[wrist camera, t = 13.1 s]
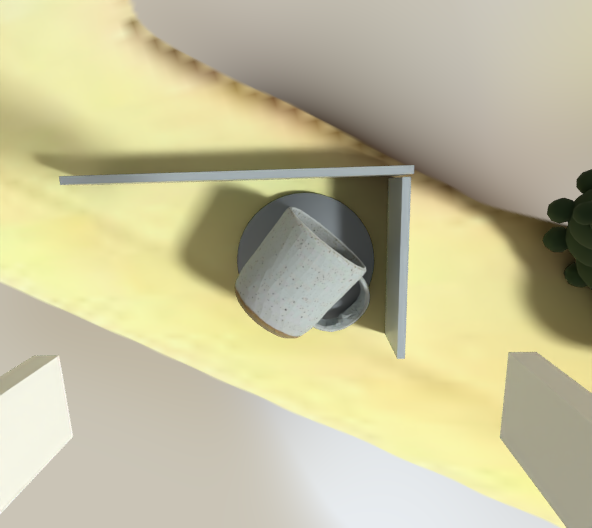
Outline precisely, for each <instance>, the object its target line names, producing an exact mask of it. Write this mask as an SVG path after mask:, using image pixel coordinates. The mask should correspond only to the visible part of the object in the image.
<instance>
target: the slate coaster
mask: <svg viewBox="0 0 592 528" xmlns="http://www.w3.org/2000/svg"><path fill="white" fill-rule="evenodd" d="M289 207H295V208H297V209H300V210H302V211H303V212H305V213H306V214H308V215H309V216H310V217H312V218H313V219H315V220H316V221H317V222H319V223H320V224H321V225H323V226H324V227H325V228H326V229H328V230H329V231H330V232H331V233H333V234H334V235H335V236H336V237H337V238H338V239H339V240H341V241H342V242H343V243H344V244H345V245H346V246H347V247H348V248H349V249H350V250H351V251H352V252H353V253H354V254H355V255H356V256H357V257H358V258H359V259H360V260H361V262H362V263H363V264H364V265H365V267H366V272H365V273H364V275H363V276H362V277H363V278H364V280H365V281H366V283H367V285H368V287H369V284H370V281H371V278H372V274H373V268H374V252H373V246H372V242H371V239H370V236H369V234H368V232H367V230H366V228H365V226H364V225H363V223H362V222H361V220H360V219H359V218H358V217H357V215H356V214H355V213H354V212H353V211H352V210H350V209H349V208H348V207H347V206H345V205H344V204H342V203H341V202H339V201H337V200H335V199H333V198H331V197H327V196H324V195H321V194H315V193H296V194H291V195H287V196H284V197H281V198H278V199H276V200H274V201H272V202H271V203H269V204H267V205H266V206H265V207H263V208H262V209H261V210H260V211H259V212H257V213H256V214H255V215H254V217H253V218H252V219H251V220H250V222H249V223H248V225H247V227H246V228H245V230H244V232H243V235H242V237H241V240H240V244H239V248H238V256H237V264H238V272H239V274H240V272H241V270H242V269H243V267H244V266H245V264H246V263H247V262H248V260H249V259H250V258H251V257H252V255H253V254H254V253H255V251H256V250H257V249H258V247H259V246H260V245H261V243H262V242H263V240H264V239H265V238H266V236H267V235H268V234H269V232H270V231H271V230H272V228H273V227H274V226H275V224H276V223H277V222H278V220H279V219H280V218H281V216H282V215H283V213H284V212H285V211H286V210H287V208H289ZM360 290H361V288H360V283H359V281H357V282H356V283H355V284H354V285H353V286H352V287H351V288H350V289H349V290H348V291H347V292H346V293H345V294H344V295H343V296H342V297H341V298H340V299H339V300H338V301H337V302H336V303H335V304H334V305H333V306H332V307H331V308H330V309H329V310H328V311H327V312H326V314H325V315H324V316H323V317H322V319H332V318H336V317H338V316H339V315H340V314H341V313H343V312H344V311H345V310H346V309H348V308H349V307H350V306H351V305H352V304H353V303H354V302H355V301H356V300H357V298H358V296H359V295H360Z"/></svg>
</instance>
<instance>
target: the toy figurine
mask: <svg viewBox="0 0 592 528" xmlns="http://www.w3.org/2000/svg"><path fill="white" fill-rule="evenodd" d="M577 188H578V189H579V190H580V192H581V193H583V194H582V195H581V196H579V197H578V198H577V199H576V200H575V201H573V200H570V199H566V198H561V199H558V200H555V201H553V202H552V203H551V204H549V206H548V211H547V215H548V216H549V218H550V219H551V221H554V222H557V223H563V222H567V221H568V226H567V229H566V228H564V227H563V226H561V227H552V228H551V229H550V230H549V231H548V232H547V233H546V234H545V235H544V238H543V243H544V245H545V247H547V248H548V249H550V250H551V251H553V252H564V251H565V250H567V249H568V250H569V252H570V253H571V254H572V256H573V257H574V258H576V263H573V264H571V265H570V266H568V267H567V268H566V269H565V271H564V275H565V279H566V280H567V282H568V283H569V284H571V285H574V286H576V287H585V286H588V287H589V288H590V289H591V290H592V169H591V170H588V171H586V172H583V173H582V174H581V175H580V176H579V177H578V179H577Z"/></svg>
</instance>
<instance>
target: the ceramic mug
mask: <svg viewBox="0 0 592 528" xmlns="http://www.w3.org/2000/svg"><path fill="white" fill-rule="evenodd" d="M365 272H366V267H365V265H364V264H363V263H362V262H361V260H360V259H359V258H358V257H357V256H356V255H355V254H354V253H353V252H352V251H351V250H350V249H349V248H348V247H347V246H346V245H345V244H344V243H343V242H342V241H341V240H339V239H338V238H337V237H336V236H335V235H334V234H333V233H331V232H330V231H329V230H328V229H326V228H325V227H324V226H323V225H321V224H320V223H319V222H317V221H316V220H315V219H313V218H312V217H310V216H309V215H308V214H306V213H305V212H303V211H302V210H300V209H297V208H295V207H289V208H287V210H286V211H285V212H284V213H283V215H282V216H281V218H280V219H279V220H278V222H277V223H276V224H275V226H274V227H273V228H272V230H271V231H270V232H269V234H268V235H267V236H266V238H265V239H264V240H263V242H262V243H261V245H260V246H259V247H258V249H257V250H256V251H255V253H254V254H253V255H252V257H251V258H250V259H249V260H248V262H247V263H246V264H245V266H244V267H243V269H242V270H241V272H240V274H239V276H238V278H237V280H236V283H235V293H236V297H237V299H238V302H239V303H240V305H241V306H242V308H243V309H244V311H245V312H246V313H247V314H248V315H249V316H250V317H251V318H252V319H253V320H254V321H255V322H256V323H257V324H259V325H260V326H261V327H263V328H264V329H266V330H267V331H269V332H271V333H273V334H275V335H277V336H280V337H283V338H298V337H300V336H301V335H303V334H304V333H306V332H307V331H309V330H310V329H311V328H312V327H314V328H316V329H319V330H322V331H329V332H333V331H338V330H341V329H344V328H346V327H348V326H350V325H351V324H353V323H354V322H356V321H357V320H358V319H359V318H360V317H361V316H362V315H363V314H364V312H365V311H366V309H367V308H368V305H369V302H370V293H369V288H368V285H367V283H366V281H365V280H364V278H363V277H362V276H363V275H364V273H365ZM357 281H359V283H360V288H361V290H360V295H359V296H358V298H357V300H356V301H355V302H354V303H353V304H352V305H351V306H350V307H349V308H348V309H346V310H345V311H344V312H343V313H341V314H340V315H339V316H338V317H336V318H332V319H322V317H323V316H324V315H325V314H326V312H327V311H328V310H329V309H330V308H331V307H332V306H333V305H334V304H335V303H336V302H337V301H338V300H339V299H340V298H341V297H342V296H343V295H344V294H345V293H346V292H347V291H348V290H349V289H350V288H351V287H352V286H353V285H354V284H355V283H356V282H357Z"/></svg>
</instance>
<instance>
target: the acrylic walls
mask: <svg viewBox="0 0 592 528" xmlns="http://www.w3.org/2000/svg"><path fill="white" fill-rule="evenodd" d="M409 174H414V165H405V166H373V167H341V168H309V169H278V170H246V171H214V172H183V173H151V174H119V175H87V176H59V180H60V185H105V184H138V183H171V182H204V181H237V180H270V179H303V178H336V177H369V176H399V175H409ZM410 194H411V177H398V178H388V222H387V267H386V312H385V335H386V337H387V339H388V341H389V343H390V345H391V347H392V349H393V351H394V353H395V355H396V357H397V359H402V358H405V338H406V309H407V280H408V252H409V223H410Z"/></svg>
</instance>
